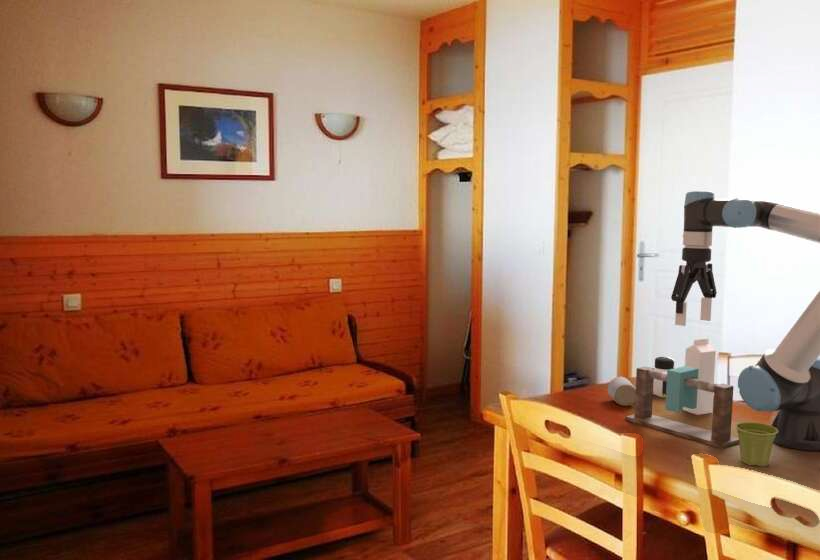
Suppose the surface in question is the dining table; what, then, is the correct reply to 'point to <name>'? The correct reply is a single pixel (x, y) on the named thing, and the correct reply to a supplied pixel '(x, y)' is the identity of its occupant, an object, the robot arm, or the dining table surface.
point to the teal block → (680, 389)
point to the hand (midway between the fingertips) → (693, 322)
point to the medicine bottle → (663, 366)
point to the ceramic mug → (622, 391)
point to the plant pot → (755, 442)
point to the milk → (702, 373)
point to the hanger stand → (644, 416)
